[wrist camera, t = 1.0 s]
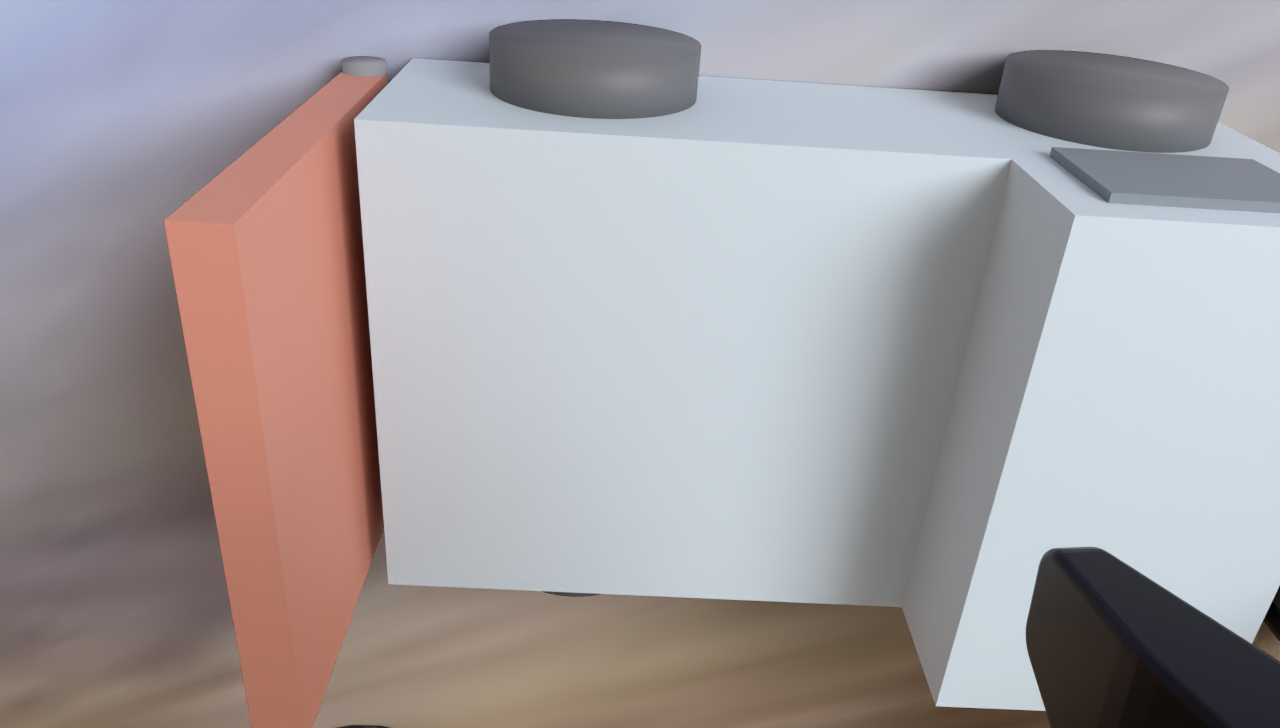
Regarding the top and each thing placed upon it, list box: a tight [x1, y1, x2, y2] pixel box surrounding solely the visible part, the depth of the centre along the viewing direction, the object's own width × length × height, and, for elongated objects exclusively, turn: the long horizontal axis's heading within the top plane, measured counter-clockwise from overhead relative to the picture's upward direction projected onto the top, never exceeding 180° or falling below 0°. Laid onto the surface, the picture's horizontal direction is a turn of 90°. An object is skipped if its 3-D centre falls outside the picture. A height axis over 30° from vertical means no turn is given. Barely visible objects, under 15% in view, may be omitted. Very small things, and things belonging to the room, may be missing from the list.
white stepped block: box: [354, 19, 1280, 711], centre depth 18 cm, size 15×11×7 cm
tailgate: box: [164, 56, 387, 728], centre depth 17 cm, size 1×9×8 cm, turn 176°
